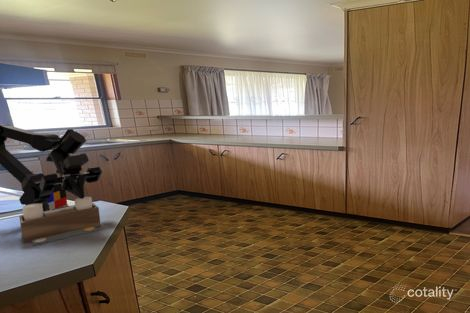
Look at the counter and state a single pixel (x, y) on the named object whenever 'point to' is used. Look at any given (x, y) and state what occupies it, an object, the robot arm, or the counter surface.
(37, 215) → the unmarked button
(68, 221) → the button console
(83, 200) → the beige cylinder
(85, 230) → the pattern card
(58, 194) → the puzzle toy
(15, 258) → the counter surface
